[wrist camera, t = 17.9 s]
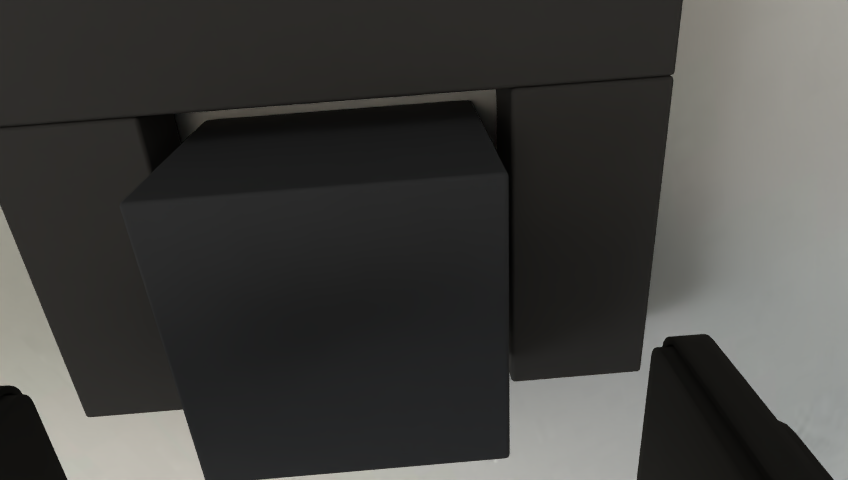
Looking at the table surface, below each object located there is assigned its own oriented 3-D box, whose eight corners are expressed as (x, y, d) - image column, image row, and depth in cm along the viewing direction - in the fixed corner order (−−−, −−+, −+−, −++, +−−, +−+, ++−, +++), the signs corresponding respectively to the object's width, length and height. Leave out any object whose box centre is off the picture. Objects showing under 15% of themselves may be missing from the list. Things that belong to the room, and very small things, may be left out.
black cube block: (471, 99, 14) (509, 172, 10) (478, 321, 17) (510, 459, 12) (204, 119, 14) (116, 203, 9) (254, 340, 17) (205, 486, 12)
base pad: (672, -317, 11) (727, -368, 9) (614, 327, 17) (641, 372, 15) (-111, -264, 11) (-211, -306, 9) (118, 368, 17) (85, 418, 15)
